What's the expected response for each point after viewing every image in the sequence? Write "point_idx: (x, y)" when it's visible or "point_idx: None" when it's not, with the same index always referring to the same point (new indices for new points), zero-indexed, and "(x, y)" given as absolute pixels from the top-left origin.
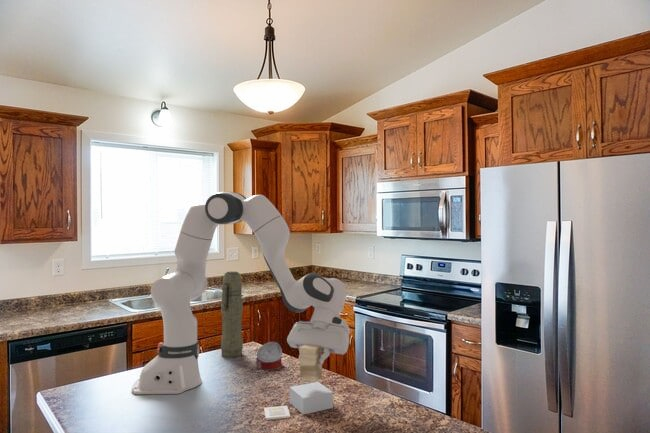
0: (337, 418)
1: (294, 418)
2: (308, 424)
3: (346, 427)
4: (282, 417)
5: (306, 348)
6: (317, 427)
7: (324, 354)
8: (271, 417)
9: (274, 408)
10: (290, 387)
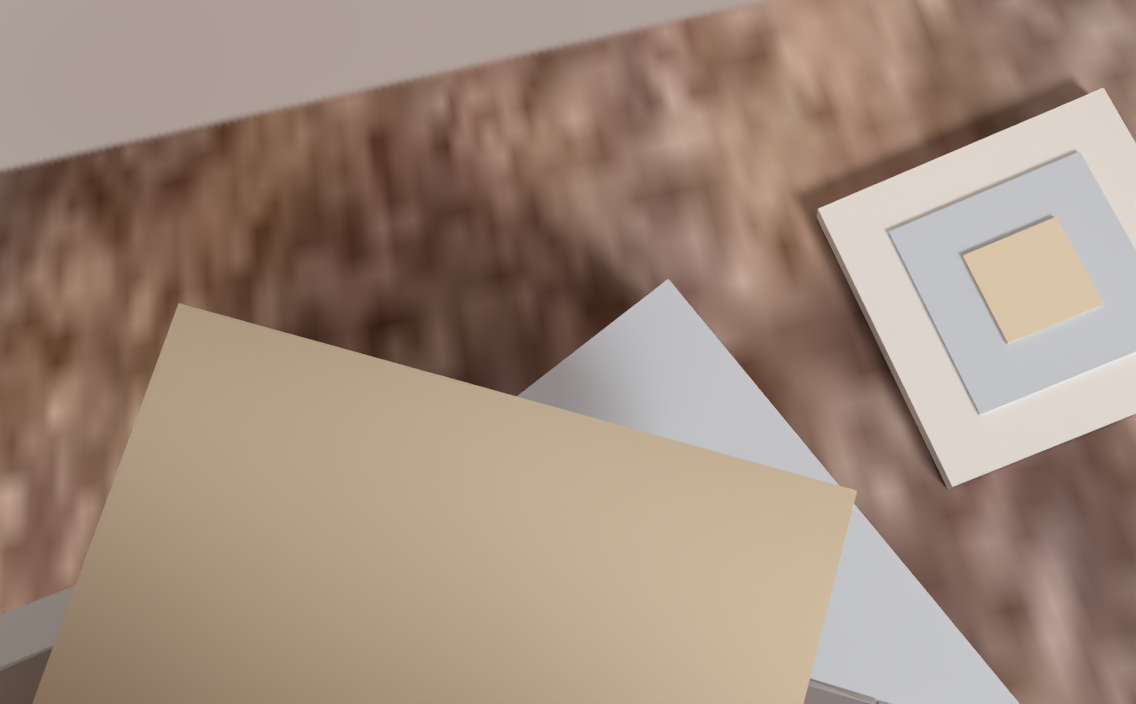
0: (281, 307)
1: (762, 212)
2: (571, 108)
3: (184, 130)
4: (907, 175)
5: (534, 404)
6: (467, 67)
7: (9, 618)
8: (1038, 116)
9: (1096, 358)
10: (1001, 692)
